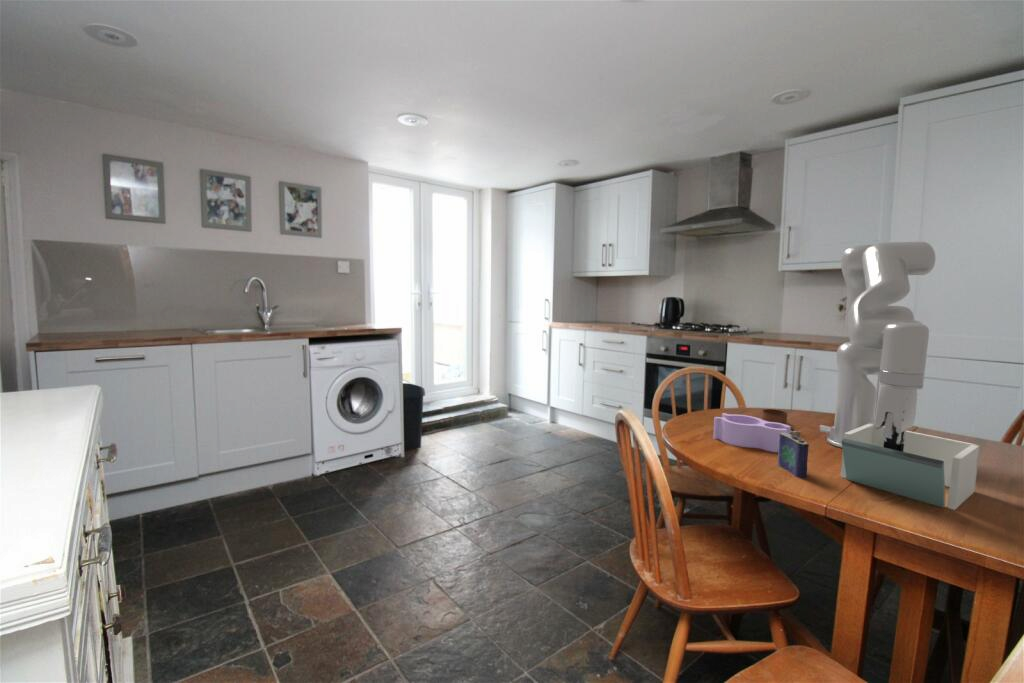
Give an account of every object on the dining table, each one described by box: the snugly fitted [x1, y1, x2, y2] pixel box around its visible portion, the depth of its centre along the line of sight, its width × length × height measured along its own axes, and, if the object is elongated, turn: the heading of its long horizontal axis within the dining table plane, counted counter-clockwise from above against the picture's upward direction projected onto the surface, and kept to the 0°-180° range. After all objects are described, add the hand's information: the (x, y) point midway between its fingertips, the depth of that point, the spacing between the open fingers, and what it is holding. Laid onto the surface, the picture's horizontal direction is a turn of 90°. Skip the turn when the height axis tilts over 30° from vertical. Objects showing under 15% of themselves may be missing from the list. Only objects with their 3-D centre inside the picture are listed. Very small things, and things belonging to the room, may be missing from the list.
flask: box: [776, 430, 809, 480], centre depth 118 cm, size 10×3×12 cm, turn 1°
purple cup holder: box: [712, 412, 791, 453], centre depth 143 cm, size 20×12×7 cm, turn 46°
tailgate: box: [841, 438, 947, 509], centre depth 105 cm, size 1×18×12 cm, turn 34°
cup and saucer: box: [761, 408, 795, 431], centre depth 158 cm, size 12×12×6 cm
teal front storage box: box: [839, 423, 981, 511], centre depth 111 cm, size 16×21×12 cm
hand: (892, 459), depth 105 cm, fingers closed
